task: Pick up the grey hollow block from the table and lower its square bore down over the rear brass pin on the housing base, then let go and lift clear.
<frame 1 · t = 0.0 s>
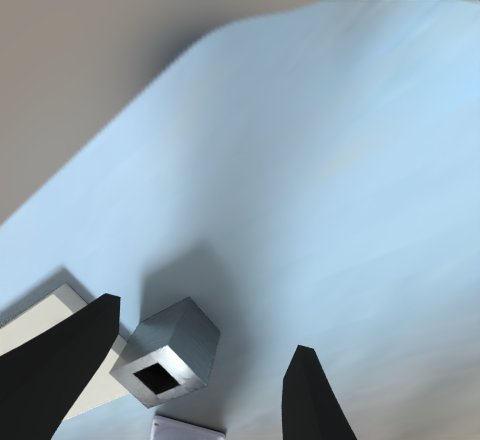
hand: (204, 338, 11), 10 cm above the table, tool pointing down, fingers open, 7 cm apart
housing base: (55, 360, 29), on the table
grey hollow block: (179, 327, 25), on the table
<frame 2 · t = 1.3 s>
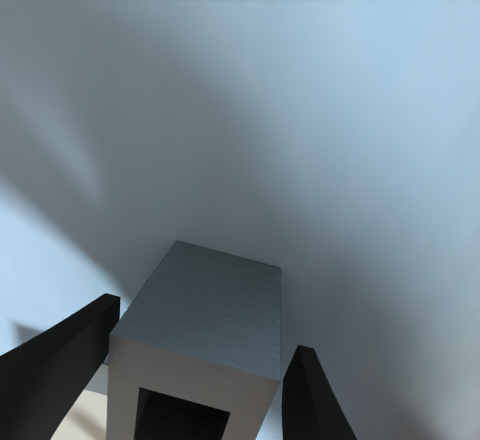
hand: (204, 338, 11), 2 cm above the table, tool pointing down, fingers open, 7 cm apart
grey hollow block: (214, 309, 13), on the table
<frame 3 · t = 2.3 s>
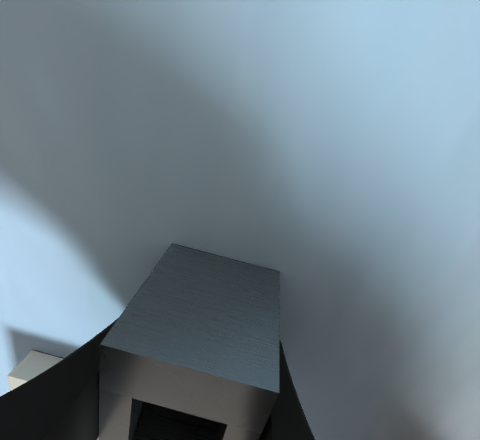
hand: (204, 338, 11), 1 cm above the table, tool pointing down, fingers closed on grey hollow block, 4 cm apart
grey hollow block: (212, 313, 13), on the table, touching gripper
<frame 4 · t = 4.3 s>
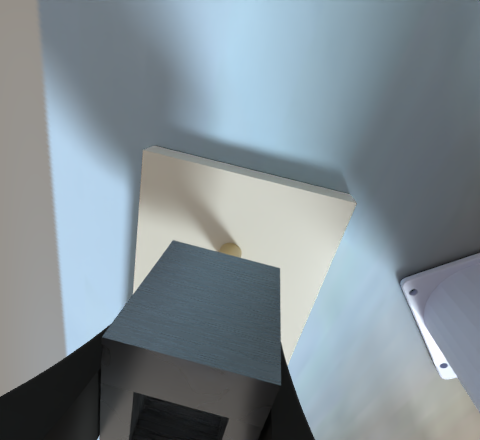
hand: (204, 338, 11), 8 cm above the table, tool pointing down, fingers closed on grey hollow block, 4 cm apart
housing base: (222, 288, 21), on the table
grey hollow block: (212, 310, 13), point 7 cm above the table, touching gripper
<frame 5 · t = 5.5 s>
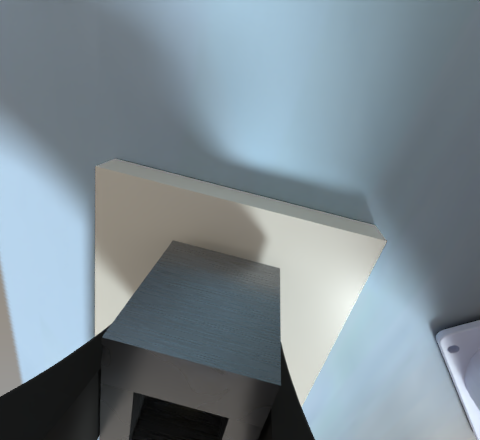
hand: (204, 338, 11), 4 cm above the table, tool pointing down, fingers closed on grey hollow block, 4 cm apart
housing base: (209, 334, 16), on the table
grey hollow block: (212, 310, 13), point 2 cm above the table, touching gripper
when the fingers open (4 cm above the table, at t = 6.5 s): grey hollow block stays where it is, resting on housing base.
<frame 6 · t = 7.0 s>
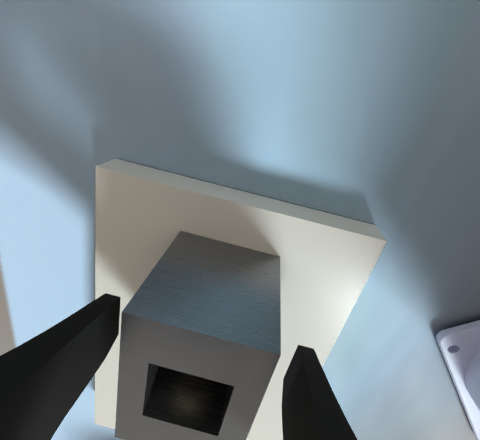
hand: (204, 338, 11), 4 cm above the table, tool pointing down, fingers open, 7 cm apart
housing base: (209, 334, 16), on the table
grey hollow block: (217, 297, 13), point 1 cm above the table, touching housing base
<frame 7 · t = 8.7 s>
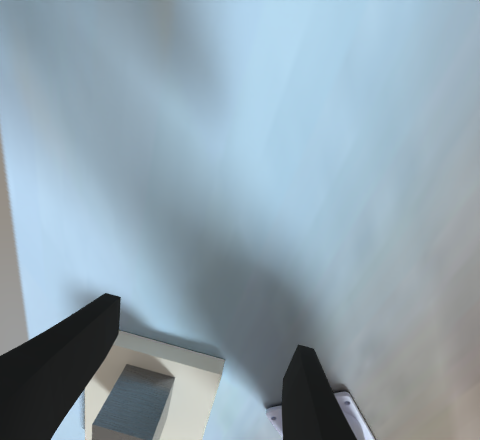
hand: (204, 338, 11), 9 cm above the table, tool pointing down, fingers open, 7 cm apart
housing base: (150, 403, 29), on the table
grey hollow block: (147, 392, 26), point 1 cm above the table, touching housing base
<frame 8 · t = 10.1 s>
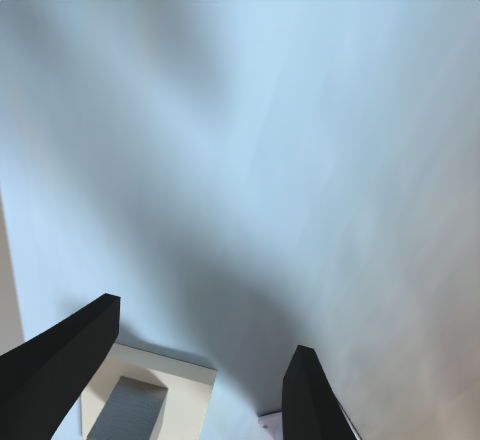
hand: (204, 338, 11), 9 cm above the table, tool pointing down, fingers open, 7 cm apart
housing base: (145, 412, 30), on the table
grey hollow block: (142, 402, 27), point 1 cm above the table, touching housing base
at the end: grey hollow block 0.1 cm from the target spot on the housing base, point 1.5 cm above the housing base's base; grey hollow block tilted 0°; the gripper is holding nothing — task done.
